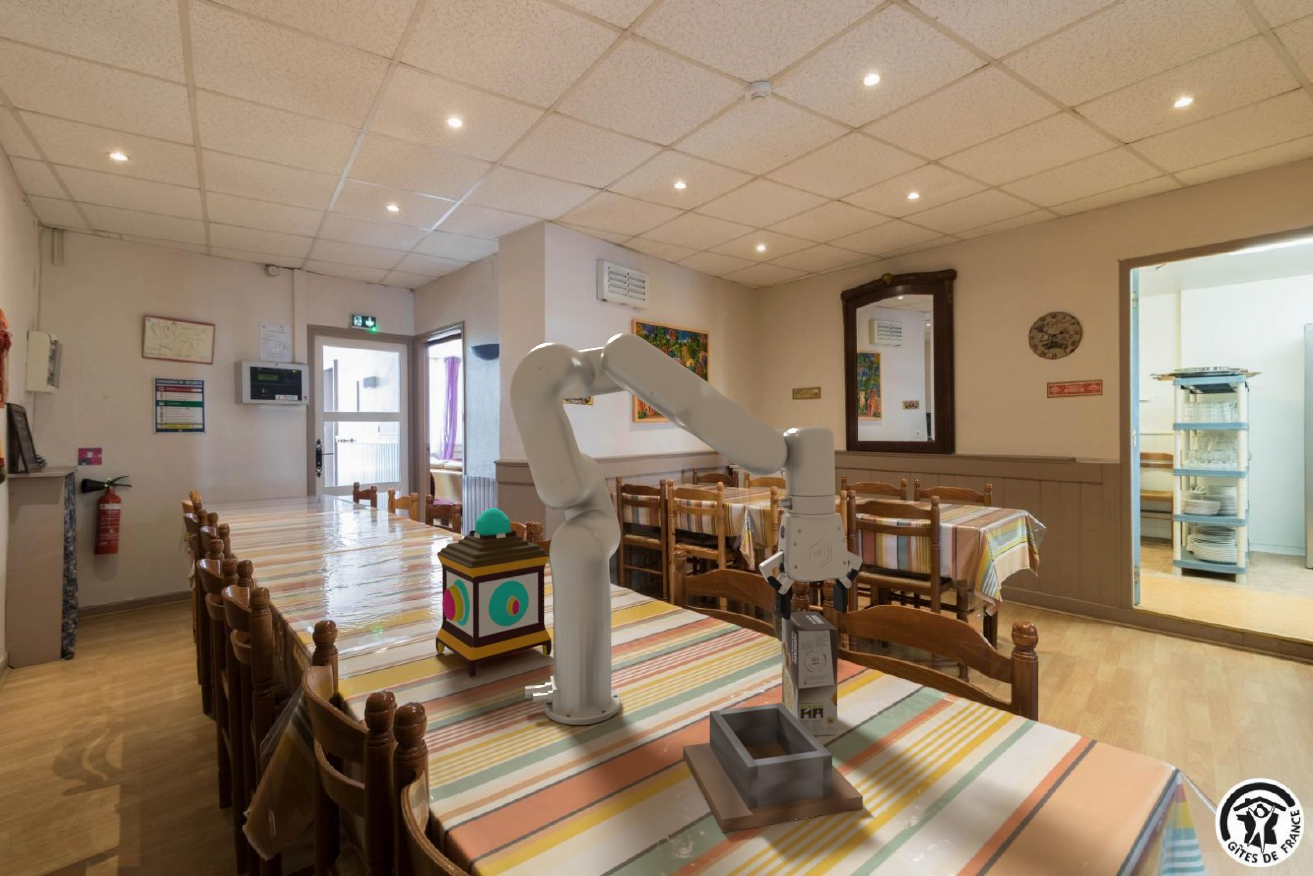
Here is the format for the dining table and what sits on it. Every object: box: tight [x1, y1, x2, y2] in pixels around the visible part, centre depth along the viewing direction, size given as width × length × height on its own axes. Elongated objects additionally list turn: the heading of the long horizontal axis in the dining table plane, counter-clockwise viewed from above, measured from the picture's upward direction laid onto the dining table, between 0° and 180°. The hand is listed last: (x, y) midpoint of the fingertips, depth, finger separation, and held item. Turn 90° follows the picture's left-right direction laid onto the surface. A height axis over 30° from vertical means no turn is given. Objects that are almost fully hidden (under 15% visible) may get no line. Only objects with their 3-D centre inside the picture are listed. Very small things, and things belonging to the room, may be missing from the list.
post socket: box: [682, 702, 864, 833], centre depth 77 cm, size 18×16×6 cm
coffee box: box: [781, 611, 839, 737], centre depth 93 cm, size 9×6×16 cm
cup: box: [772, 607, 807, 647], centre depth 123 cm, size 8×7×8 cm
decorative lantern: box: [435, 507, 553, 679], centre depth 120 cm, size 20×20×30 cm
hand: (812, 614), depth 93 cm, fingers open, 9 cm apart
